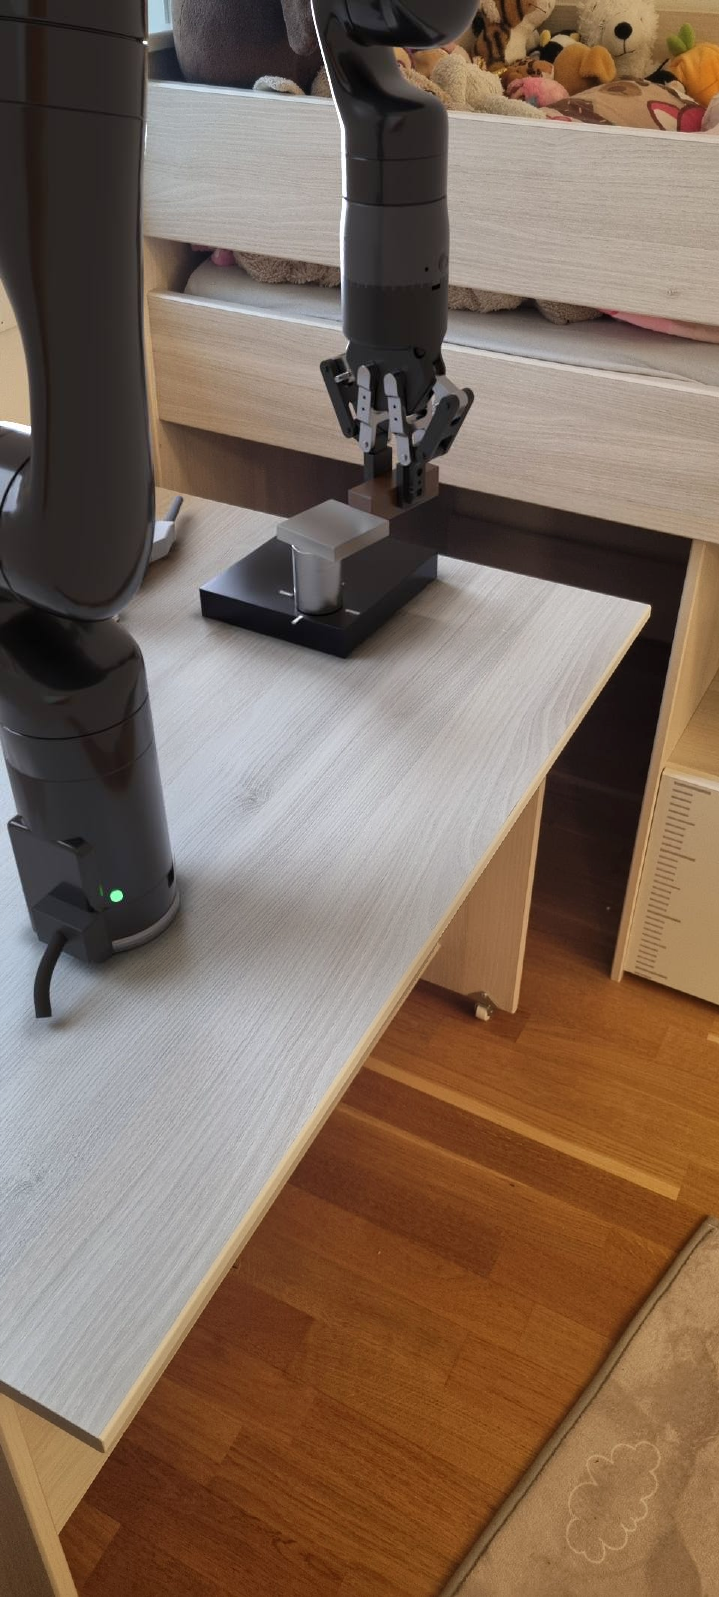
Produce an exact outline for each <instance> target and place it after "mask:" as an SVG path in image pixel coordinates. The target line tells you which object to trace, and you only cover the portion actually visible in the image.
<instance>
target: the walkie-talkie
mask: <svg viewBox="0 0 719 1597" xmlns="http://www.w3.org/2000/svg"><path fill="white" fill-rule="evenodd" d="M183 504H184V497H183V496H181V495H176V496H174V499H173V501H172V503H171V505H170V507H169V509H168V512H167V513H166V516H165V518H164V519H163V520H155V533H154V541H153V549H152V553H151V558H150V561H149V563H153V562H155V561H157V560H160V559H161V558H164V557H166V556H167V555H168V554H169V551H170V549H171V547H172V545H173V543H174V542H175V541H176V539H177V528H176V522H175V521H176V519H177V517H178V515H179V513H180V510H181V508H182V505H183Z"/></svg>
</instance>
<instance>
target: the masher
mask: <svg viewBox="0 0 719 1597" xmlns="http://www.w3.org/2000/svg"><path fill="white" fill-rule="evenodd" d="M439 484H440V466H439V465H436V464H434V463H430V462H428V463H426V471H425V495H424V498H423V499H422V500H421V501H420V503H419V504H418V505H416V506H414V507H412V508H410V509H408V510H403V509H400V508H398V507H397V487H396V467H395V468H392V470H391V471H389V472H387V473H385V474H382V475H380V476H378V477H376V478H374V479H372V480H369V481H367V482H365V483H364V482H363V483H360V484H358V485H357V486H354V487H352V488H351V489H348V491H347V492H348V496H347V497H348V498H347V499H348V504H346V503H343V502H341V501H337V500H335V499H332V498H330V499H328V500H326V501H324V502H322V503H320V504H318V505H315V506H313V507H311V508H309V509H307V510H305V511H302V512H301V513H298V514H296V515H294V516H291V517H289V518H288V519H286V520H283V521H281V522H279V523H277V524H276V526H275V527H276V535H277V539H279V540H281V541H283V542H286V543H288V544H291V545H293V546H295V547H298V548H300V549H303V550H305V551H307V552H310V553H312V554H315V555H317V556H320V557H322V558H324V559H327V560H329V561H332V562H334V563H336V562H337V561H339V560H341V559H343V558H345V557H347V556H349V555H351V554H353V553H355V552H357V551H359V550H361V549H363V548H365V547H367V546H369V545H371V544H373V543H375V542H376V541H378V540H380V539H382V538H384V537H385V538H387V537H388V536H390V520H391V519H393V518H394V517H397V516H398V515H400V514H403V513H405V512H407V511H409V510H411V509H413V508H415V507H417V506H419V505H421V504H423V503H425V502H427V501H429V500H431V499H433V498H435V497H436V496H439V490H440V489H439V486H440V485H439Z"/></svg>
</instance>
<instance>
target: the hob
mask: <svg viewBox="0 0 719 1597" xmlns="http://www.w3.org/2000/svg"><path fill="white" fill-rule="evenodd" d="M438 563H439V550H437V549H434V548H429V547H424V546H422V545H416V544H412V543H408V542H405V541H401V540H397V539H392V538H388V537H384V538H382V539H380V540H378V541H376V542H375V543H373V544H371V545H369V546H367V547H365V548H363V549H361V550H359V551H357V552H355V553H353V554H351V555H349V556H347V557H345V558H343V559H342V586H343V604H342V606H341V608H339V609H338V610H337V611H335V612H332V613H329V614H323V615H313V614H307V613H304V612H302V611H300V610H299V609H297V607H296V606H295V592H294V573H293V553H292V545H291V544H288V543H286V542H283V541H281V540H279V539H277V534H276V535H274V536H273V537H271V538H269V539H268V540H267V541H266V542H264V543H263V544H261V545H260V546H258V547H257V548H255V549H253V551H251V552H249V553H248V554H247V555H244V557H243V558H242V557H241V559H239V560H238V561H236V562H235V563H234V564H232V565H231V566H229V567H228V568H226V569H225V570H224V571H222V572H220V573H219V574H217V576H216V575H215V577H213V578H212V579H211V580H209V581H208V582H206V583H205V584H203V585H202V586H200V587H199V588H198V591H199V601H200V612H201V617H204V618H207V619H210V620H213V621H217V622H220V623H223V624H227V625H230V626H233V627H237V628H240V629H244V630H247V631H250V632H253V633H257V634H260V635H263V636H267V637H270V638H273V639H277V640H279V641H283V642H286V643H290V644H293V645H297V646H300V647H304V648H307V649H310V650H314V651H317V652H321V653H324V654H327V655H330V656H333V657H337V658H340V659H344V660H345V659H347V657H349V656H350V655H351V654H352V653H353V652H355V650H357V649H358V648H359V647H360V646H361V645H362V644H363V643H365V642H366V641H367V640H368V639H369V638H370V637H371V636H372V635H374V634H375V633H376V632H377V631H379V629H380V628H381V627H383V626H384V625H385V624H386V623H387V622H388V621H390V620H391V619H392V618H393V617H394V616H395V615H396V614H398V613H399V612H400V611H402V609H403V608H405V607H406V606H407V605H409V603H410V602H411V601H413V600H414V599H415V598H416V597H417V596H418V595H419V594H420V593H422V592H423V591H424V590H425V589H426V588H428V586H430V585H431V584H432V583H433V582H434V581H435V580H436V579H438V567H439V566H438Z"/></svg>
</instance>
